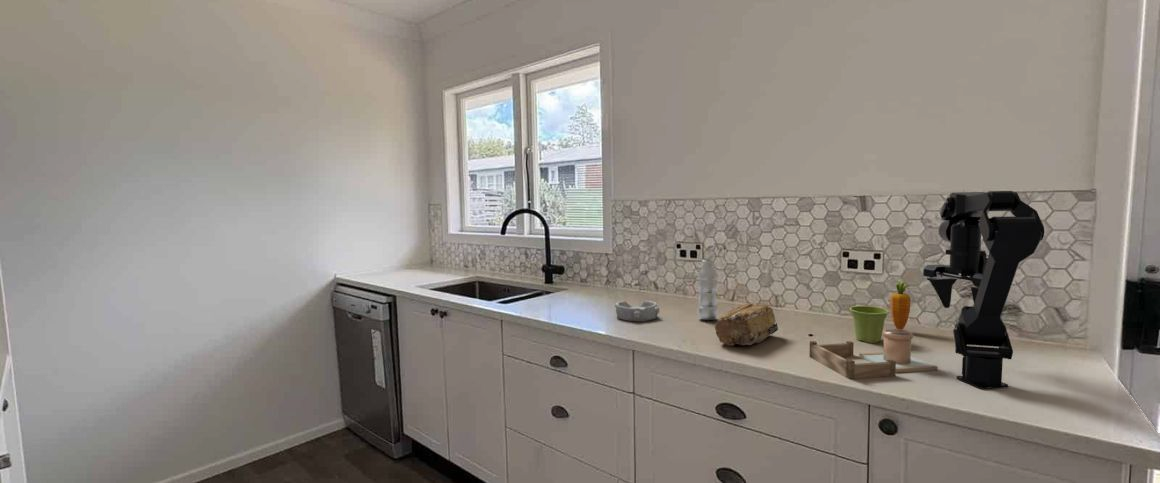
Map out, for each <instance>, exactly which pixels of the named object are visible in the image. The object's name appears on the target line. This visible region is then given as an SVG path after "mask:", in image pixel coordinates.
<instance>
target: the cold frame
mask: <svg viewBox="0 0 1160 483" xmlns="http://www.w3.org/2000/svg"><path fill="white" fill-rule="evenodd" d="M852 356H854V342H853V341H851V340H850V341H848V340H847V341H845V343H844V342H842V343H840V342H839V343H826V344H824V343H822V344H818V342H817V341H815V340H810V341H809V357H810V358H811V359H814V360H815V361H817V362H818V363H820V364H822V365H824V366H826V367H828V369H831V370H832V371H834V372H836V373H838V374H840V375H841V376H843V377H844V378H846V379H849V380H854V379H869V378H882V377H881V376H886V377H896V373H897V372H896V361H894V360H887V362H875V363H872V362H863V363H861V362H860V363H856V361H855V360H854V359H846V358H844V357H852Z"/></svg>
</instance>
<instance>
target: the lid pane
mask: <svg viewBox="0 0 1160 483" xmlns="http://www.w3.org/2000/svg"><path fill="white" fill-rule="evenodd" d="M883 353H884V351H881V352H880V351H879V352H859V354H858V356H859V358H861V359H864V360H865V361H867V362H869V363H875V362H887V361H885V360H884V359H883ZM938 369H939V368H938V366H937V365H935V364H930V363H928V362H926V361H923V360H921V359H919V358H916V357H914V356H911V363H909V364H896V373H908V372H923V371H925V372H926V371H938Z"/></svg>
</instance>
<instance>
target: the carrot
mask: <svg viewBox="0 0 1160 483" xmlns="http://www.w3.org/2000/svg"><path fill="white" fill-rule="evenodd" d="M895 285H896V290H897V292H895V293H892V294H891V295H890V313H891V318H892V321H893V325H894V326H895V329H902V330H904V328H905V327H906V326H907V322H908V319H909V316H910V311H911V296H910V295H909V294H907V293H905V291H906V290H907V289H906V288H907V287H908V288H909V287H910V284H906V282H905V281H901V282H900V281H897V283H896V284H895Z"/></svg>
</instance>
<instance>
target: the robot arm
mask: <svg viewBox="0 0 1160 483" xmlns="http://www.w3.org/2000/svg"><path fill="white" fill-rule="evenodd" d="M989 212H1010V213H1011V214H1012V216H992V217H989V215H988V214H989ZM940 218H941V221H943V222H942V223H941V224H940V226H939V227H938V236H939V237H940V238H941V239H942V240H943V241H945V242H949V243H950V244H949V245H950V246H949V249H945V255H949V264H944V263H943V264H926V266H924V267H923V272H922V273H923V274H922V276H923V277H925V278H926V277H927V278H926V280H927V281H929V283H930V284H931V286H932V287H933V289H934V291H935V293H936V294H937V296H938V298H939V300H940V302H941V304H942V305H943V306H942V307H944V308H945V309H949V308H950V307H951V302H952V292H953V286H954V284H955V283H956V282H957V280H965V281H969V282H971V283H972V285H973V286H971V287H970V289H971V295H972V300H973V305H972V306H970V305H966V306H965V305H964V306H963V307H962V308H961V311H960V315H959V318H958V322H956V323H955V325H954V327H953V329H952V332H953V337H954V338H953V339H954V347H955V349H954V350H955V352H954V353H956V354H957V355H961V356H962V361H961V363H962V365H961V375H956V376H955V379H956V380H959V381H961V382H964V383H966V384H969V385H971V386H974V387H976V388H979V389H996V388H1008V387H1009V384H1008V383H1006V382H1003V381H1002V380H1003V361H1004V360H1005V359H1006V360H1012V358H1013V355H1014V354H1013V353H1014V350H1013V347H1012V343H1011V339H1010V336H1009V333H1008V331H1007V330H1008V329H1007V326H1006V325H1005V323H1004V320H1003V318H1002V314H1003V312H1004V308H1005V306H1006V303H1007V300H1008V297H1009V293H1010V291H1011V287H1012V285H1013V282H1014V278H1015V276H1016V273H1017V270H1018V267H1019V264H1020V263H1021V262H1022V261H1024V260H1026V259H1028V258H1029V257H1030V256H1032V255H1034V253H1035V252H1036V250H1037V248H1038V246H1039V245H1040V243H1041V241H1042V240H1043V239H1044V237H1045V227H1044V224H1043V221H1042V219H1041V217H1040V214H1039V213H1038V211H1037V210H1036V209H1034V208H1033V207H1032V206H1030V205H1029V204H1027V203H1025V202H1024V201H1023V200H1021V198H1020V195H1019V194H1018V192H1016V191H1013V190H989V191H988V192H984V191H964V192H963V191H962V192H951V193H950V194H949V197H947V198H946V200H945V202H944V204H943V205H942V208H941V211H940ZM982 241H983V243H984V245H985V246H986V248H987V250H988V257H987V253H986V250H981V249H982V246H981V245H982ZM1003 359H1004V360H1003Z"/></svg>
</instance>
